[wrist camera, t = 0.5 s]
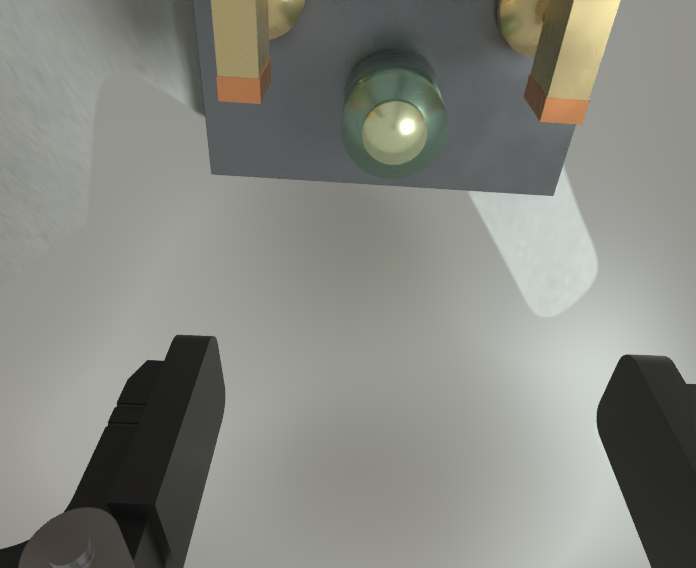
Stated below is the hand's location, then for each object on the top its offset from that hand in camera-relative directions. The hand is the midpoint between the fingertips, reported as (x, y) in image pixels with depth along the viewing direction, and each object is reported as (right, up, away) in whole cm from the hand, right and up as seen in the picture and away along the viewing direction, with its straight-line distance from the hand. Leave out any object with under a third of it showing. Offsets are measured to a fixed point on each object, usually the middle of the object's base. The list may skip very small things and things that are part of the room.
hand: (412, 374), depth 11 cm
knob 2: (+10, +18, +20) cm, 28 cm away
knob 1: (-6, +19, +20) cm, 28 cm away
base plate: (+2, +17, +22) cm, 28 cm away
